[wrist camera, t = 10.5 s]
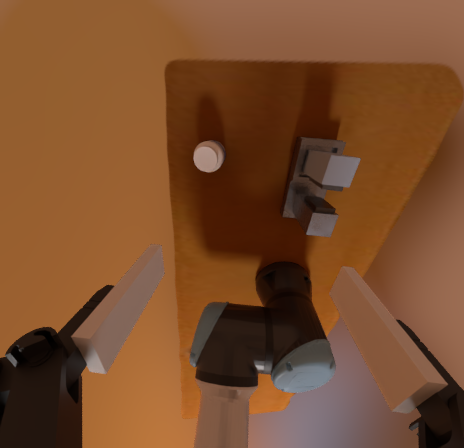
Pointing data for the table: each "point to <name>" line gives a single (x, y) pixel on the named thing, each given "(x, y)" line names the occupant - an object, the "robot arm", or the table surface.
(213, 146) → the pill bottle
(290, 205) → the grey block fixture
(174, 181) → the table surface
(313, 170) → the long gray rectangular block
